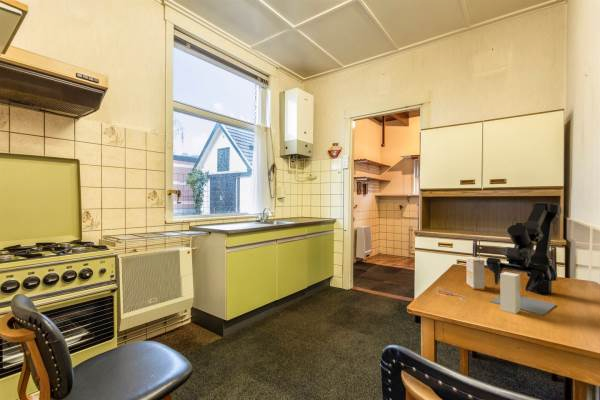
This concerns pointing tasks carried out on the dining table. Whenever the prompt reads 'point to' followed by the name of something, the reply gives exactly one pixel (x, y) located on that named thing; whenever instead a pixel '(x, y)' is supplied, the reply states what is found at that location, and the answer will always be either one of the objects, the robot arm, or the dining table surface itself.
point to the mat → (531, 305)
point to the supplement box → (475, 273)
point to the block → (510, 292)
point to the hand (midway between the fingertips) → (510, 287)
